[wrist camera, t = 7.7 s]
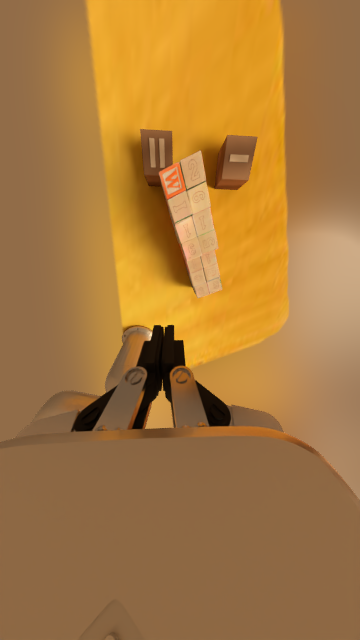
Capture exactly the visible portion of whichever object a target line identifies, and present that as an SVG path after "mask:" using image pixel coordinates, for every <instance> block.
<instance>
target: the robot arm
mask: <svg viewBox="0 0 360 640" xmlns="http://www.w3.org/2000/svg"><path fill="white" fill-rule="evenodd" d="M122 341H123V346H122V348H121V350H120V352H119V354H118V355H117V358H116V359H115V361H114V363H113V366H112V367H111V369H110V371H109V373H108V376H107V378H106V382H105V388H106V393H105V394H104V395H103V396H97V395H92V394H87V393H83V392H77V391H62V392H59V393H57V394H55V395H53V396H52V397H51V398H50V399H49V400H48V401H47V402H46V403H45V404H44V405H43V406H42V407H41V409H40V410H39V411H38V413H37V414H36V416H35V417H34V419H33V420H32V422H31V423H30V424H29V425H27V426H26V427H25V428H24V429H23V430H21V431H20V433H19V434H18V435H17V436H16V437H15V438H13V439H9V440H6V441H2V442H0V640H360V500H359V499H358V497H357V496H356V495H355V493H354V492H353V491H352V490H351V488H350V487H349V486H348V485H347V483H346V482H345V481H344V480H343V478H342V477H341V476H340V475H339V474H338V472H337V471H336V470H335V469H334V468H333V466H332V465H331V464H330V463H329V462H328V461H327V460H326V459H325V458H324V457H323V456H322V455H321V454H320V453H319V452H318V451H316V450H315V449H314V448H312V447H311V446H309V445H308V444H306V443H305V442H303V441H301V440H299V439H297V438H295V437H293V436H291V435H289V434H286V433H284V432H283V430H282V428H281V425H280V424H279V422H278V421H277V420H276V419H275V418H274V417H273V416H271V415H270V414H268V413H266V412H262V411H258V410H253V409H249V408H244V407H240V406H235V405H231V406H228V405H226V404H225V403H224V402H222V401H221V400H220V399H219V398H217V397H216V396H215V395H213V394H212V393H211V392H210V391H208V390H207V389H206V388H205V387H203V386H202V385H201V384H199V383H198V382H197V381H195V379H194V376H193V373H192V371H191V370H190V369H189V368H188V367H186V366H185V355H184V344H183V340H174V325H168V327H165V333H164V329H163V327H161V325H154V328H153V331H151V330H150V329H148V328H146V327H142V326H133V327H130V328H128V329H127V330H126V331H125V332H124V334H123V336H122ZM162 379H163V390H164V391H165V395H166V398H167V399H168V401H170V403H171V410H172V419H173V427H174V428H160V429H145V427H146V422H147V420H148V416H149V412H150V409H151V405H152V401H153V400H154V399H155V398H156V396H158V392H159V391H161V389H162Z"/></svg>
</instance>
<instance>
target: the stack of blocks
mask: <svg viewBox="0 0 360 640" xmlns="http://www.w3.org/2000/svg"><path fill="white" fill-rule="evenodd" d="M159 176H160V180H161V185H162V189H163V192H164V197H165V200H166V203H167V207H168V210H169V214H170V218H171V221H172V224H173V227H174V230H175V234H176V237H177V241H178V243H179V245H180V248H181V252H182V255H183V257H184V261H185V264H186V269H187V272H188V275H189V278H190V281H191V284H192V287H193V290H194V292H195V294H196V296H197V298H200V297H203V296H206V295H209V294H211V293H214V292H217V291H220V290H222V285H221V280H220V274H219V269H218V265H217V259H216V255H215V249H218V243H217V238H216V233H215V229H214V224H213V219H212V214H211V209H210V207H211V205H210V199H209V194H208V188H207V183H206V175H205V169H204V164H203V158H202V152H201V151H198V152H196V153H194V154H192V155H190V156H188V157H186V158H184V159H182V160H181V161H180V163H179V162H177V163H175V164H173V165H171V166H169V167H167V168H165V169H164V170H162V171H160V172H159Z"/></svg>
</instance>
